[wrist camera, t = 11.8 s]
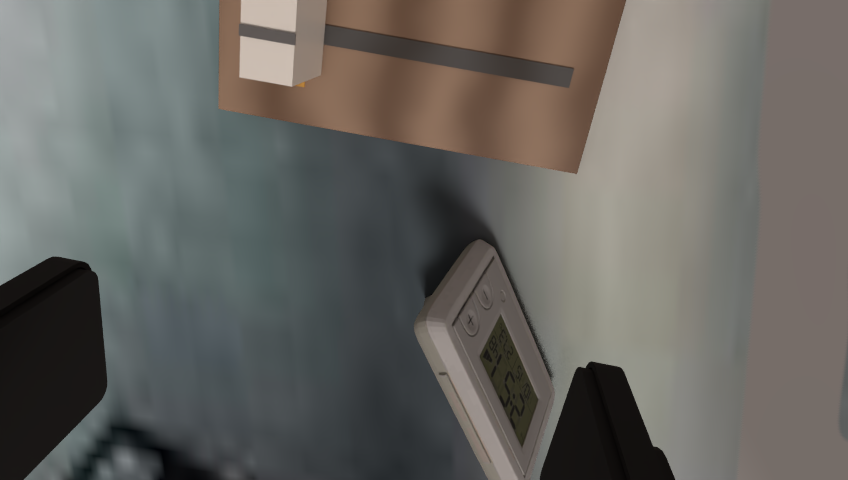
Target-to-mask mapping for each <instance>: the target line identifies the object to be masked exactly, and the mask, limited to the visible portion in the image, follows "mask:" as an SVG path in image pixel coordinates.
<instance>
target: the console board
mask: <svg viewBox="0 0 848 480" xmlns="http://www.w3.org/2000/svg"><path fill="white" fill-rule="evenodd" d="M625 2H626V0H327V8H326V20H325V32H324V45H323V57H322V69H321V75H320V76H318V77H315V78H313V79H310V80H308V81H305V82H303V83H300V84H298V85H295V86H292V87H291V86H285V85H280V84H274V83H269V82H263V81H258V80H252V79H246V78H241V77H239V71H240V36H239V24H241V0H220V4H219V109H222V110H228V111H233V112H239V113H244V114H250V115H255V116H261V117H266V118H272V119H277V120H283V121H289V122H294V123H300V124H305V125H311V126H316V127H322V128H327V129H333V130H338V131H344V132H349V133H355V134H360V135H366V136H371V137H377V138H382V139H388V140H393V141H399V142H404V143H410V144H415V145H421V146H426V147H432V148H437V149H443V150H448V151H454V152H459V153H465V154H470V155H476V156H482V157H487V158H493V159H498V160H504V161H509V162H515V163H520V164H526V165H531V166H537V167H542V168H548V169H553V170H559V171H564V172H570V173H575V174H577V172H578V168H579V165H580V161H581V158H582V154H583V151H584V147H585V143H586V140H587V136H588V133H589V129H590V126H591V122H592V119H593V115H594V112H595V108H596V105H597V101H598V98H599V94H600V91H601V87H602V83H603V80H604V76H605V73H606V69H607V66H608V62H609V59H610V55H611V52H612V48H613V45H614V41H615V38H616V34H617V31H618V27H619V23H620V20H621V16H622V13H623V9H624V6H625Z"/></svg>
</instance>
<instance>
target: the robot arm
mask: <svg viewBox="0 0 848 480" xmlns="http://www.w3.org/2000/svg"><path fill="white" fill-rule="evenodd" d="M106 388H107V373H106V361H105V350H104V339H103V328H102V317H101V306H100V294H99V283H98V277H97V275H96V273H95V272H93V271H91V268H90V266H89V265H88V264H87V263H85V262H82V261H77V260H72V259H67V258H62V257H51V258H48V259H46V260H45V261H43V262H41V263H39V264H38V265H36V266H34V267H32V268H31V269H29V270H27V271H25V272H24V273H22V274H20V275H18V276H16V277H15V278H13V279H11V280H9V281H8V282H6V283H4V284H2V285H1V286H0V480H24V479H25V478H26V477H27V476H28V475H29V474H30V473H31V471H32V470H33V469H34V468H35V467H36V466H37V465H38V464H39V463H40V462H41V461H42V460H43V459H44V458H45V457H46V456H47V455H48V454H49V453H50V452H51V451H52V450H53V449H54V448H55V447H56V446H57V445H58V444H59V443H60V442H61V441H62V440H63V439H64V438H65V437H66V436H67V435H68V434H69V433H70V432H71V431H72V430H73V429H74V428H75V427H76V426H77V425H78V424H79V423H80V422H81V421H82V419H83V418H84V417H85V416H86V415H87V414H88V413H89V412H90V411H91V410H92V409H93V408H94V407H95V406H96V405H97V404H98V403H99V402H100V401H101V400H102V398H103V396H104V394H105V392H106ZM540 480H675V478H674V475H673V473H672V470H671V468H670V466H669V463H668V461H667V458H666V457H665V455H664V453H663V451H662V450H660V449H659V448H658V447H653V445H652V443H651V440H650V437H649V435H648V432H647V430H646V427H645V425H644V422H643V419H642V417H641V414H640V412H639V409H638V407H637V404H636V402H635V399H634V396H633V394H632V391H631V389H630V386H629V384H628V381H627V378H626V376H625V373H624V371H623V369H622V368H620V367H617V366H612V365H606V364H601V363H596V362H589V363H588V365H587V366H586V368H582V367H578V368H577V369H576V371H575V374H574V376H573V379H572V382H571V385H570V388H569V391H568V394H567V397H566V400H565V403H564V406H563V409H562V412H561V415H560V418H559V421H558V424H557V427H556V430H555V432H554V435H553V438H552V441H551V444H550V447H549V450H548V453H547V456H546V459H545V462H544V465H543V468H542V471H541V476H540Z"/></svg>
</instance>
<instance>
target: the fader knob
mask: <svg viewBox="0 0 848 480" xmlns="http://www.w3.org/2000/svg"><path fill="white" fill-rule="evenodd" d="M326 8H327V0H241V24H239V36H240V71H239V77H241V78H246V79H252V80H258V81H263V82H269V83H274V84H280V85H285V86H291V87H292V86H295V85H298V84H300V83H303V82H305V81H308V80H310V79H313V78H315V77H318V76H320V75H321V69H322V57H323V45H324V32H325V20H326Z"/></svg>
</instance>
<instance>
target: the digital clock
mask: <svg viewBox="0 0 848 480" xmlns="http://www.w3.org/2000/svg"><path fill="white" fill-rule="evenodd" d="M414 331H415V334H416V337H417V339H418V341H419V343H420V345H421V347H422V349H423V351H424V354H425V356H426V358H427V360H428V362H429V364H430V366H431V368H432V370H433V372H434V374H435V376H436V378H437V380H438V382H439V384H440V386H441V388H442V390H443V392H444V393H445V395H446V397H447V399H448V401H449V403H450V405H451V407H452V409H453V411H454V413H455V415H456V417H457V419H458V421H459V423H460V425H461V427H462V429H463V431H464V433H465V435H466V437H467V439H468V441H469V443H470V445H471V447H472V449H473V451H474V453H475V455H476V457H477V459H478V461H479V462H480V464H481V466H482V468H483V470H484V472H485V474H486V476H487V478H488V480H530V477H531V474H532V471H533V468H534V464H535V461H536V458H537V455H538V451H539V448H540V445H541V441H542V438H543V435H544V432H545V428H546V425H547V422H548V419H549V415H550V412H551V409H552V406H553V402H554V396H555V392H554V388H553V385H552V382H551V380H550V377H549V375H548V372H547V370H546V367H545V365H544V362H543V360H542V358H541V355H540V353H539V351H538V348H537V346H536V343H535V341H534V339H533V336H532V334H531V332H530V329H529V327H528V324H527V322H526V320H525V317H524V315H523V313H522V310H521V308H520V305H519V303H518V301H517V298H516V296H515V293H514V291H513V289H512V286H511V284H510V282H509V279H508V277H507V275H506V272H505V270H504V267H503V265H502V263H501V261H500V258H499V256H498V254H497V252H496V250H495V248H494V247H493V246H491V245H490V244H488V243H486V242H485V241H483V240H481V239H479V240H475V241H473V242H472V243H470V244H469V245H468V246H467V247H466V248H465V249H464V250H463V252H462V253H461V254H460V256H459V257H458V259H457V260H456V261H455V263H454V264H453V266H452V267H451V269H450V270H449V271H448V273H447V274H446V276H445V277H444V278H443V280H442V281H441V283H440V284H439V286H438V287H437V288H436V290H435V291H434V293H433V294H432V295H431V296H429V297H427V298H425V302H424V307H423V308H422V310H421V311H420V313H419V315H418V316H417V318H416V320H415V323H414Z"/></svg>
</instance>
